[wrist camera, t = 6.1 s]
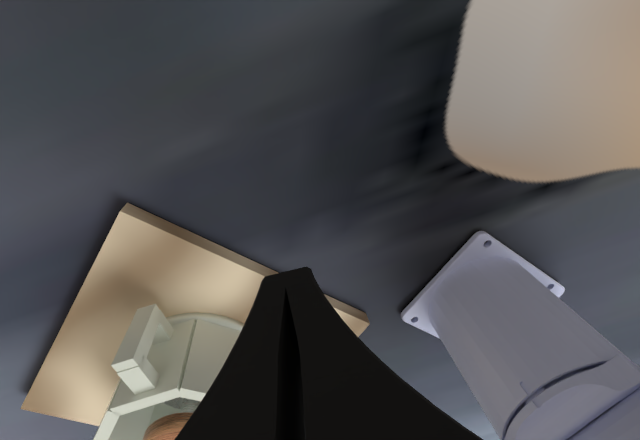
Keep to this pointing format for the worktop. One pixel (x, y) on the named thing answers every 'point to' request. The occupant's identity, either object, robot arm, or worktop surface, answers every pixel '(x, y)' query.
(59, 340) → the serving board
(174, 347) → the faceted mug
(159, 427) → the plunger
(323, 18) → the worktop surface
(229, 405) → the robot arm
